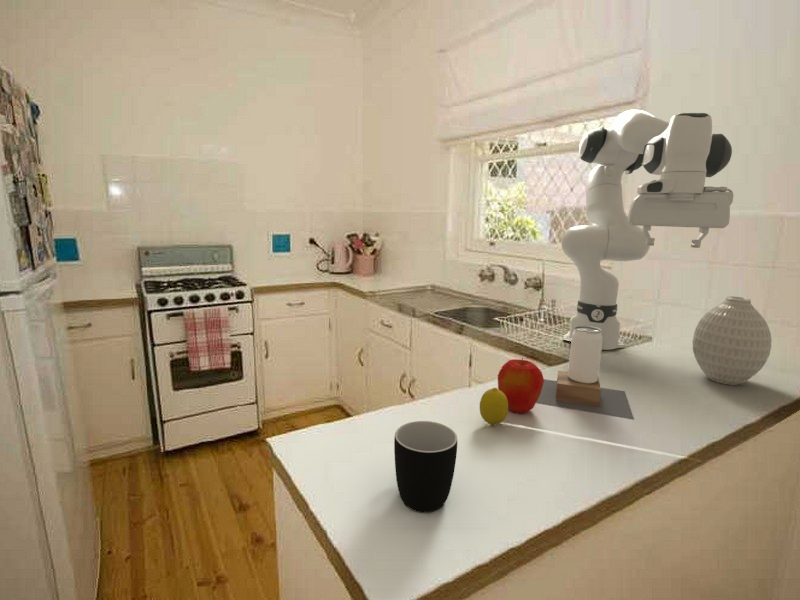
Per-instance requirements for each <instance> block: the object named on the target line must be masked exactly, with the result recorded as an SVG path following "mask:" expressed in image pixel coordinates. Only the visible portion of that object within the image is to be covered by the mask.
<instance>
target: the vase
mask: <svg viewBox="0 0 800 600" xmlns="http://www.w3.org/2000/svg"><path fill="white" fill-rule="evenodd" d="M693 333H694V334H693V336H692V351H693V355H694V358H695V361H696V362H697V364H698V366H699V368H700V370H701V371H702V372H703V374H705V376H706V377H707V378H708V379H709V380H710V381H712V382H713V381H714V382H716V383H718V384H723V385H731V386H735V385H736V386H737V385H740V384H742V383H745V382H746V381H748V380H750V379H751V378H753V377H754V376H756V374H758V372H760V371H761V370H762V369H763V367H764V366H765V364H766V363H767V361H768V359H769V357H770V354H771V350H772V341H773V340H772V334H771V333H772V332H771V331H770V328H769V324H768V323H767V321H766V319H765V318H764V317H763V315H762V314H761V313H760V312H759V311H758V310H757V309H756V308H755V307H754V306H753V305H752V301H751V299H750V298H748V297H741V296H732V295H731V296H729V295H728V296H726V298H725V300H724V301H723V302H721V303H720V304H717V305H716V306H714V307H713V308H712V309H710V310H709V311H707V312H706V313H705V314H704V315H703V316H702V317H701V318H700V320H699V321H698V323H697V325H696V326H695V329H694V332H693Z"/></svg>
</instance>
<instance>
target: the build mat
mask: <svg viewBox="0 0 800 600" xmlns="http://www.w3.org/2000/svg"><path fill="white" fill-rule="evenodd" d="M556 386H557V380H551V379H545V378H544V383H543V387H542V390H541V394H540V396H539V398H538V400H537V402H536V404H538V405H545V406H552V407H555V408H556V407H558V408H563V409H569V410H575V411H580V412H588V413H594V414H599V415H603V416H604V415H605V416H610V417H618V418H621V419H622V418H623V419H628V420H634V419H635V418H634V415H633V411H632V409H631V406H630V403H629V399H628V397H627V394H626V391H624V390H619V389H612V388H606V387H605V388H604V387H601V394H600V402H599V407H595V406H589V405H583V404H577V403H571V402H565V401H559V400H556Z"/></svg>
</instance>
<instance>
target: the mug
mask: <svg viewBox="0 0 800 600" xmlns="http://www.w3.org/2000/svg"><path fill="white" fill-rule="evenodd" d="M393 443H394V447H393V449H394V450H393V451H394V467H395V468H394V469H395V477H396V485H397V490H398V494H399V496H400V499H401V501H402V503H403V504H404V505H405V506H406V507H408V508H409V509H411V510H412V511H414V512H417V513H432V512H436V511H438V510H440V509H441V508H442V507H443V506H444V505H445V504H446V501H447V499H448V497H449V495H450V492H451V489H452V488H451V487H452V484H453V480H454V475H455V468H456V462H457V461H456V460H457V452H458V436H457V434H456V432H455V431H454V430H453V429H452V428H451V427H449V426H447V425H445V424H443V423H441V422H440V423H439V422H436V421H430V420H428V421H427V420H417V421H410V422H407V423H405V424H402V425H401V426H400V427H398V428H397V429H396V431H395V433H394V441H393Z"/></svg>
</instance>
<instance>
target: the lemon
mask: <svg viewBox="0 0 800 600" xmlns="http://www.w3.org/2000/svg"><path fill="white" fill-rule="evenodd" d="M508 412H509V408H508V401H507V397H506V396H505V394H504V393H503V392H502V391H500V390H499V389H498V387H492V388H490V389H487V390H486V391H484V393H483V394H482V396H481V398H480V401H479V414H480V416H481V418H482V419H483V420H484V422H485V423H487V424H489V425H490V426H492V427H494V426H496V425H499V424H501V423H503V422H504V421H505V420H506V419H507V416H508Z"/></svg>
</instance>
